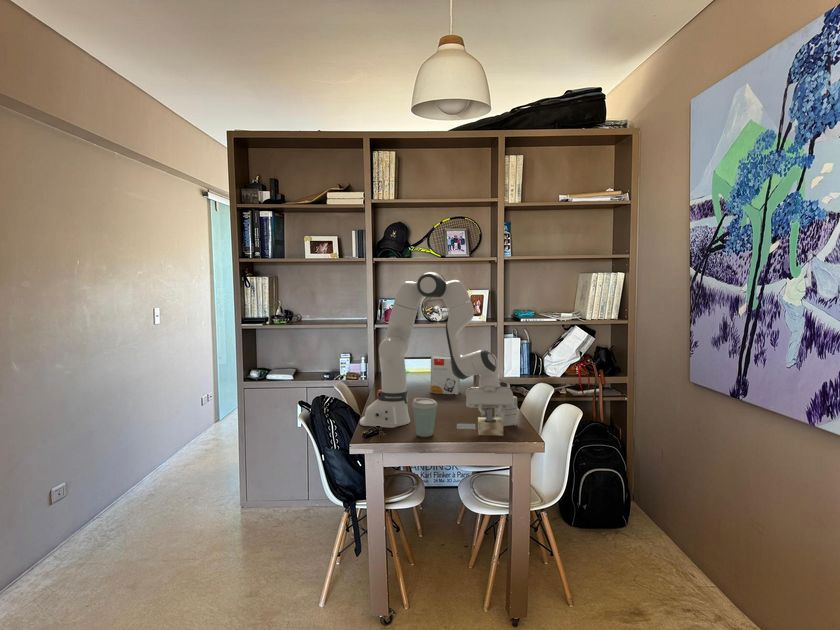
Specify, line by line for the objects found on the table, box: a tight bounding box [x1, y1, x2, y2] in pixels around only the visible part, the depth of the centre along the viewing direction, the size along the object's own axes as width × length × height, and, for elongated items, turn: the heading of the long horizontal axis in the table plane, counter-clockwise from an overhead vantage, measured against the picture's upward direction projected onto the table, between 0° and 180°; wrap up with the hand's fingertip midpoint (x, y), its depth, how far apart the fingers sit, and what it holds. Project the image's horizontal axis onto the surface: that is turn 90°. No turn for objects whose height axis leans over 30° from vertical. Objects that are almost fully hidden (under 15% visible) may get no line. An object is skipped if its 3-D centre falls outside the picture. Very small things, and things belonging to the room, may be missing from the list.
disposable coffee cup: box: [411, 397, 438, 438], centre depth 218 cm, size 11×11×15 cm
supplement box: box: [494, 395, 518, 427], centre depth 235 cm, size 7×7×13 cm
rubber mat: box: [456, 423, 476, 430], centre depth 230 cm, size 8×8×1 cm
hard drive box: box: [430, 355, 461, 396], centre depth 296 cm, size 16×8×20 cm, turn 76°
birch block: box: [477, 416, 504, 437], centre depth 222 cm, size 10×10×5 cm
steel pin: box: [485, 408, 494, 422], centre depth 222 cm, size 3×3×10 cm
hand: (490, 415), depth 221 cm, fingers open, 5 cm apart
